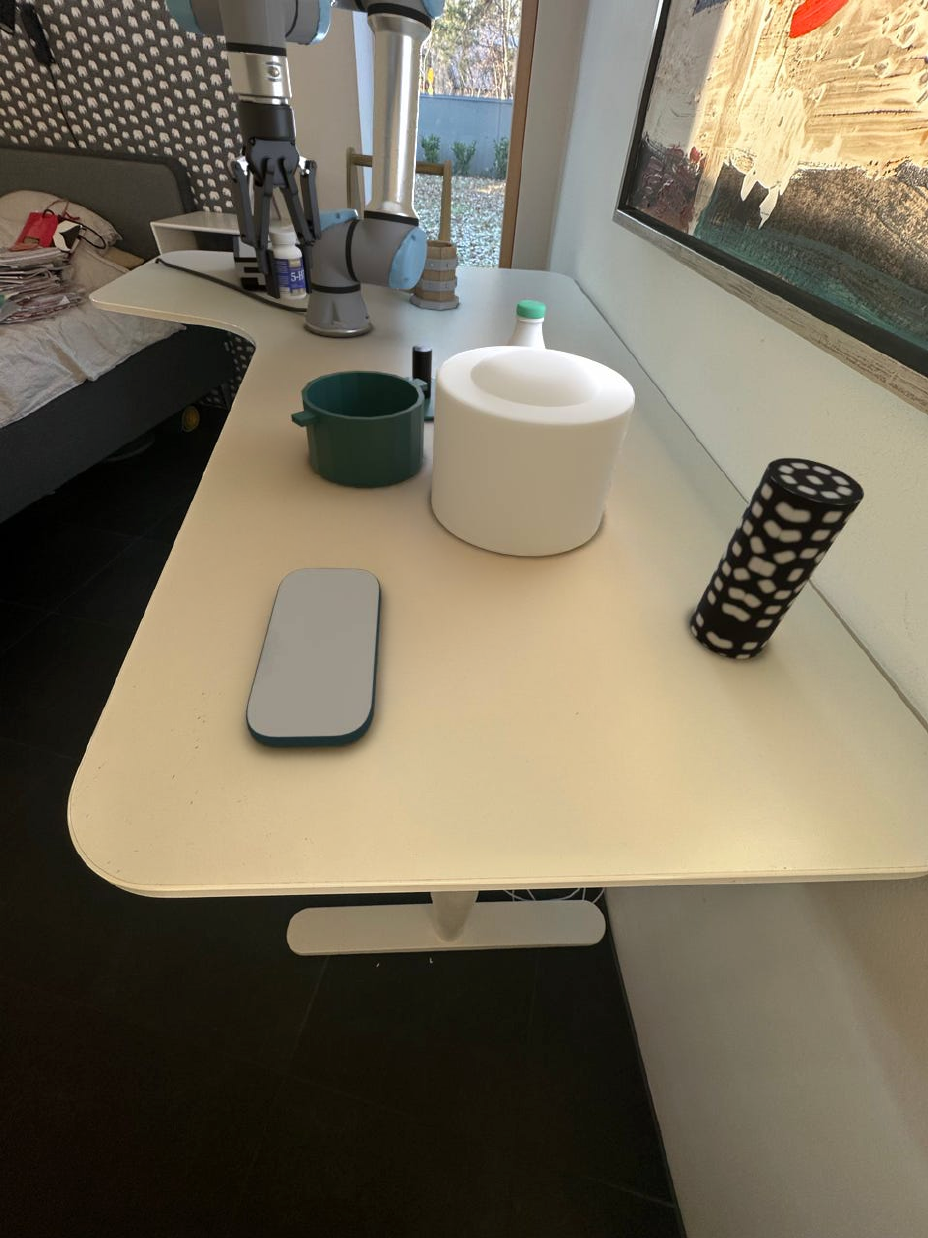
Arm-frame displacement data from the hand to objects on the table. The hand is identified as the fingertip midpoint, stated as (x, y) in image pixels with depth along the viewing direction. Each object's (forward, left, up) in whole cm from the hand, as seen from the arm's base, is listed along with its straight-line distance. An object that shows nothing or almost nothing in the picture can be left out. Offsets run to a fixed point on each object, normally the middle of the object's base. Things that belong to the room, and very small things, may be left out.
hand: (290, 293), depth 90 cm
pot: (+25, -5, -17) cm, 31 cm away
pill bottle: (0, 0, 0) cm, 1 cm away
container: (+49, +4, -17) cm, 53 cm away
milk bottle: (+31, +24, -17) cm, 43 cm away
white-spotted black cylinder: (+83, +3, -17) cm, 85 cm away
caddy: (-60, +73, -17) cm, 96 cm away
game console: (-78, +40, -17) cm, 89 cm away
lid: (+13, +17, -17) cm, 28 cm away
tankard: (-38, +62, -17) cm, 75 cm away
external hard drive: (+56, -34, -17) cm, 67 cm away
